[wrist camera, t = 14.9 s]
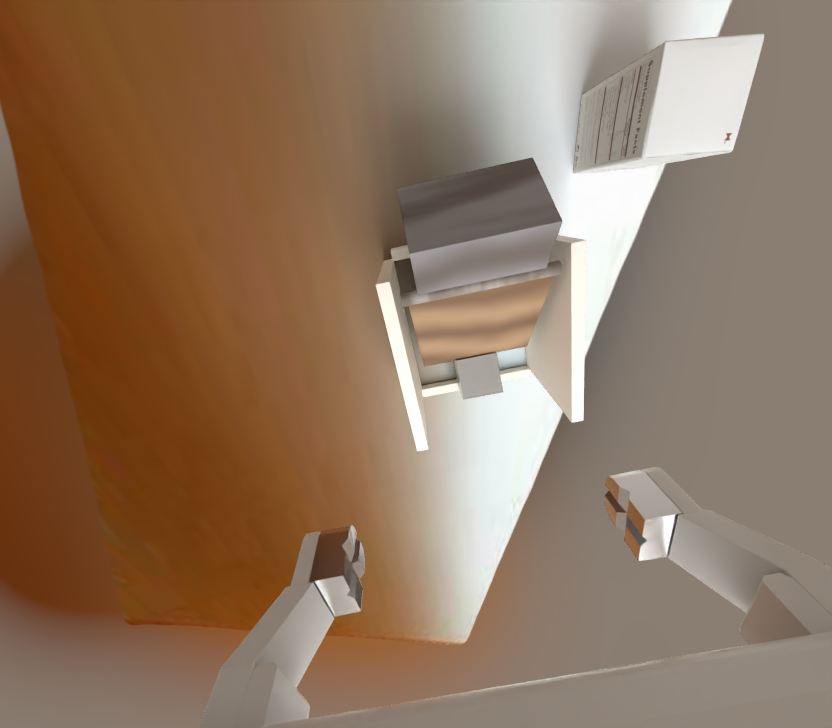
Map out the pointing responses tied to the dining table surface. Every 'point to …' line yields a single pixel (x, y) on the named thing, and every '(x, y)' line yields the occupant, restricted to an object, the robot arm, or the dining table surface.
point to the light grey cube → (478, 376)
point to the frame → (545, 353)
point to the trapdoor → (479, 259)
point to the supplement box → (668, 105)
